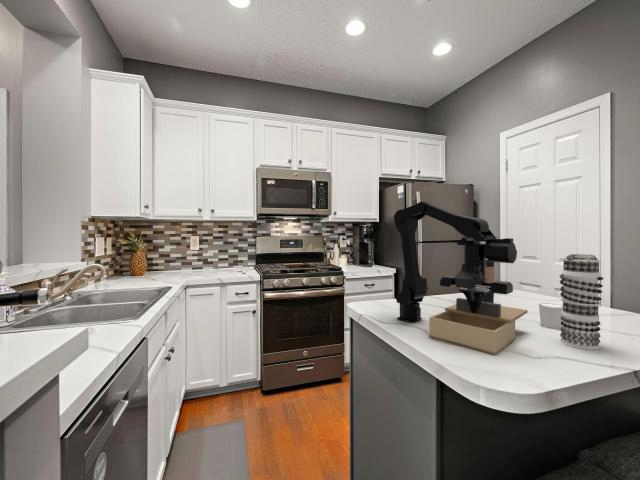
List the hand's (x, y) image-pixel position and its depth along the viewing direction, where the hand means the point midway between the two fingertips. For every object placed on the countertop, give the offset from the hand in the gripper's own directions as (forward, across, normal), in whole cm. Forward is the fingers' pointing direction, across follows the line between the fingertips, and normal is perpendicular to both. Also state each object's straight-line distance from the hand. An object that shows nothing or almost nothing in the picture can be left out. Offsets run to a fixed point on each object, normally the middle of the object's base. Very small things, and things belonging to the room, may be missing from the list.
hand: (474, 313), depth 90 cm
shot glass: (+8, +13, +30) cm, 34 cm away
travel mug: (+8, -11, +38) cm, 41 cm away
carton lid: (+1, 0, +9) cm, 9 cm away
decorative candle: (+7, +22, +16) cm, 28 cm away
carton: (+7, 0, -2) cm, 8 cm away
